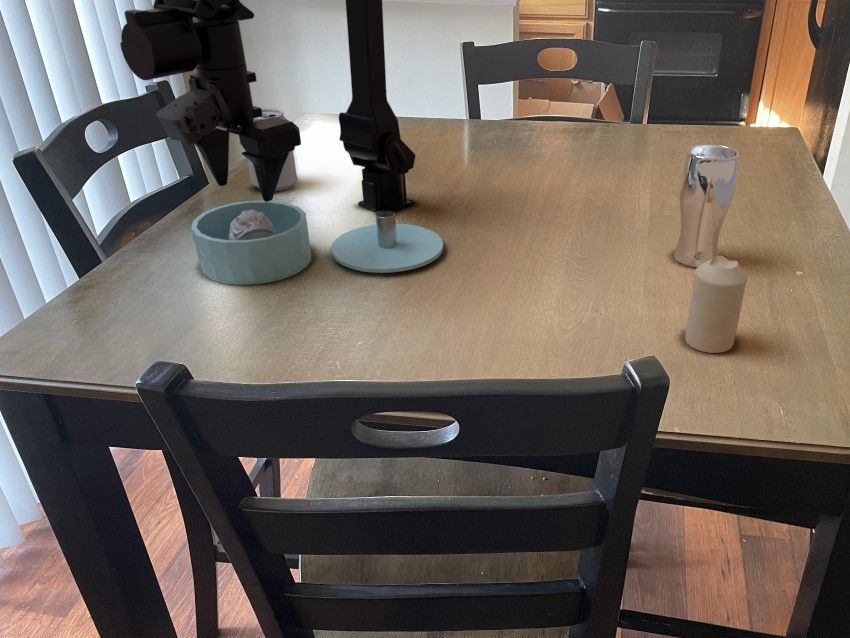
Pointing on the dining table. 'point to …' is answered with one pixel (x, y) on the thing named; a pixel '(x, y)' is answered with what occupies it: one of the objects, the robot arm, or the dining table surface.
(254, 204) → the pot
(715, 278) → the candle
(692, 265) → the beer glass
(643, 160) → the dining table surface
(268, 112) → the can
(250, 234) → the grey carved lump
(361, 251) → the lid
